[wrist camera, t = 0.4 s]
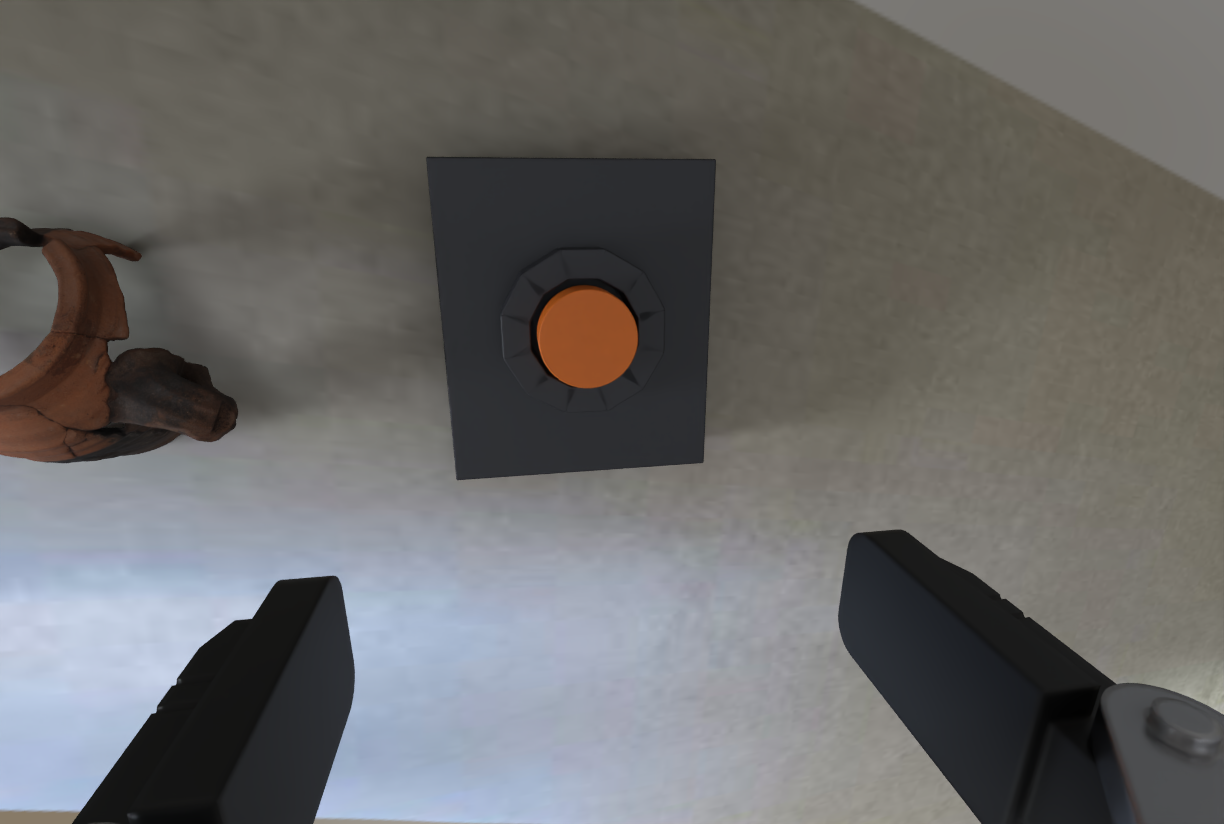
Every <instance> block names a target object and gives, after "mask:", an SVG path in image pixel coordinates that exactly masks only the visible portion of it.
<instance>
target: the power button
mask: <svg viewBox="0 0 1224 824" xmlns="http://www.w3.org/2000/svg"><path fill="white" fill-rule="evenodd" d="M537 341H538V345H539V350H540V354H541V357H542V359H543V361H544V363H545V365H546V367H547V368H548V369H549V371H550V372H551V373H552V374H553V375H554V376H555V377H557V378H558V379H559V380H561V381H562V382H564V383H566V384H568V385H571V386H574V387H578V388H597V387H601V386H604V385H607V384H609V383H611V382H613V381H614V380H616V379H617V378H619V377H620V376H621V375H622V374H623V373H624V372H625V371H626V370H627V369H628V367H629V366H630V364H631V363H632V361H633V359H634V356H635V353H636V350H637V345H638V330H637V325H636V322H635V319H634V317H633V315H632V313H631V312H630V310H629V309H628V307H627V306H626V305H625V304H624V303H623V302H622V301H621V300H620V299H618V298H617V297H616V296H614V295H613V294H611V293H610V292H608V291H606V290H604V289H602V288H599V287H596V286H591V285H577V286H572V287H569V288H566V289H564V290H562V291H560V292H559V293H557V294H556V295H554V296H553V297H552V298H551V299H550V300H549V301H548V303H547V304H546V305H545V307H544V308H543V310H542V312H541V314H540V317H539V320H538V325H537Z"/></svg>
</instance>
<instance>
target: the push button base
mask: <svg viewBox="0 0 1224 824" xmlns="http://www.w3.org/2000/svg"><path fill="white" fill-rule="evenodd" d="M426 161H427V171H428V182H429V193H430V203H431V214H432V225H433V235H434V246H435V256H436V267H437V278H438V288H439V299H440V309H441V320H442V331H443V341H444V352H445V363H446V373H447V384H448V394H449V405H450V416H451V426H452V437H453V447H454V458H455V469H456V479H457V480H466V479H480V478H494V477H509V476H523V475H537V474H551V473H566V472H580V471H594V470H608V469H623V468H637V467H651V466H665V465H680V464H694V463H703V461H704V437H705V413H706V389H707V364H708V340H709V316H710V291H711V267H712V243H713V219H714V194H715V170H716V160H715V159H616V158H493V157H427V158H426ZM577 285H591V286H596V287H599V288H602V289H604V290H606V291H608V292H610V293H611V294H613V295H614V296H616V297H617V298H618V299H620V300H621V301H622V302H623V303H624V304H625V305H626V306H627V307H628V309H629V310H630V312H631V313H632V315H633V317H634V319H635V322H636V325H637V330H638V345H637V350H636V353H635V356H634V359H633V361H632V363H631V364H630V366H629V367H628V369H627V370H626V371H625V372H624V373H623V374H622V375H621V376H620V377H619V378H617V379H616V380H614V381H613V382H611V383H609V384H607V385H604V386H601V387H597V388H578V387H574V386H571V385H568V384H566V383H564V382H562V381H561V380H559V379H558V378H557V377H555V376H554V375H553V374H552V373H551V372H550V371H549V369H548V368H547V367H546V365H545V363H544V361H543V359H542V357H541V354H540V350H539V345H538V341H537V325H538V320H539V317H540V314H541V312H542V310H543V308H544V307H545V305H546V304H547V303H548V301H549V300H550V299H551V298H552V297H553V296H554V295H556V294H557V293H559V292H560V291H562V290H564V289H566V288H569V287H572V286H577Z"/></svg>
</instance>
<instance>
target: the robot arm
mask: <svg viewBox="0 0 1224 824" xmlns="http://www.w3.org/2000/svg"><path fill="white" fill-rule="evenodd" d="M838 621H839V628H840V633H841V637H842V640H843V642H844V645H845V647H846V649H847V650H848V652H849V653H850V655H851V656H852V658H853V659H854V660H855V661H856V663H857V664H858V665H859V667H860V668H861V669H862V670H863V672H864V673H865V674H866V676H867V677H868V678H869V679H870V681H871V682H872V683H873V685H874V686H875V687H876V688H877V690H878V691H879V692H880V694H881V695H882V696H883V697H884V699H885V700H886V701H887V703H888V704H889V705H890V706H891V708H892V709H893V710H894V712H895V713H896V714H897V715H898V717H899V718H900V719H901V721H902V722H903V723H904V724H905V726H906V727H907V728H908V730H909V731H910V732H911V733H912V735H913V736H914V737H915V739H916V740H917V741H918V742H919V744H920V745H921V746H922V748H923V749H924V750H925V751H926V753H927V754H928V755H929V757H930V758H931V759H932V760H933V762H934V763H935V764H936V766H937V767H938V768H939V769H940V771H941V772H942V773H943V775H944V776H945V777H946V779H947V780H948V781H949V782H950V784H951V785H952V786H953V788H954V789H955V790H956V791H957V793H958V794H959V795H960V797H961V798H962V799H963V800H964V802H965V803H966V804H967V806H968V807H969V808H970V809H971V811H972V812H973V813H974V815H975V816H976V817H977V818H978V820H979V821H980V822H981V824H1224V715H1223V714H1221V713H1220V712H1218V711H1216V710H1214V709H1212V708H1211V707H1209V706H1207V705H1205V704H1203V703H1201V702H1198V701H1196V700H1194V699H1192V698H1190V697H1187V696H1184V695H1182V694H1179V693H1177V692H1173V691H1170V690H1167V689H1164V688H1160V687H1156V686H1151V685H1145V684H1139V683H1122V684H1116V683H1114V682H1113V681H1112V680H1110V679H1109V678H1108V677H1107V676H1105V675H1104V674H1103V673H1101V672H1100V671H1099V670H1097V669H1096V668H1095V667H1094V666H1092V665H1091V664H1090V663H1088V662H1087V661H1086V660H1084V659H1083V658H1082V657H1081V656H1079V655H1078V654H1077V653H1075V652H1074V651H1073V650H1071V649H1070V648H1069V647H1068V646H1066V645H1065V644H1064V643H1062V642H1061V641H1060V640H1058V639H1057V638H1056V637H1055V636H1053V635H1052V634H1051V633H1049V632H1048V631H1047V630H1045V629H1044V628H1043V627H1042V626H1040V625H1039V624H1038V623H1036V622H1035V621H1034V620H1032V619H1031V618H1030V617H1027V618H1025V617H1024V615H1023V612H1022V611H1021V610H1019V609H1018V608H1017V607H1016V606H1014V605H1013V604H1012V603H1010V602H1009V601H1008V600H1006V599H1001V597H1000V594H999V593H997V592H996V591H995V590H993V589H992V588H991V587H990V586H988V585H987V584H986V583H984V582H983V581H982V580H980V579H979V578H978V577H977V576H975V575H974V574H973V573H971V572H968V571H966V570H964V569H962V568H960V567H958V566H956V565H954V564H952V563H950V562H948V561H946V560H944V559H942V558H939V557H938V556H937V555H936V554H934V553H933V552H932V551H931V550H929V549H928V548H927V547H925V546H924V545H923V544H922V543H920V542H919V541H918V540H917V539H915V538H914V537H913V536H912V535H910V534H909V533H908V532H906V531H904V530H887V531H875V532H863V533H856V534H854V535H853V536H852V537H851V539H850V541H849V544H848V549H847V556H846V563H845V570H844V577H843V584H842V591H841V598H840V605H839V613H838ZM354 682H355V669H354V660H353V653H352V647H351V641H350V635H349V628H348V622H347V616H346V610H345V603H344V597H343V591H342V586H341V583H340V581H339V579H338V577H336V576H324V577H312V578H300V579H288V580H280V581H278V582H277V583H275V585H274V586H273V588H272V589H271V591H270V592H269V594H268V595H267V597H266V598H265V600H264V601H263V603H262V605H261V606H260V608H259V609H258V611H257V612H256V614H255V615H254V617H253V618H252V619H246V620H235V621H234V622H232V623H231V624H230V625H228V626H227V627H226V628H225V629H223V630H222V631H221V632H219V633H218V634H217V635H215V636H214V637H213V638H212V639H210V640H209V641H208V642H206V643H205V644H204V645H203V646H201V647H200V648H199V649H198V651H197V652H196V653H195V655H194V656H193V658H192V659H191V660H190V662H189V663H188V664H187V666H186V667H185V669H184V670H183V671H182V673H181V674H180V675H179V677H178V678H177V684H176V685H174V686H171V688H170V689H169V691H168V692H167V693H166V695H165V696H164V697H163V699H162V700H161V702H160V703H159V704H158V706H157V712H156V713H154V714H151V715H150V717H149V718H148V720H147V721H146V722H145V724H144V725H143V726H142V728H141V729H140V731H139V732H138V733H137V735H136V736H135V737H134V739H133V740H132V742H131V743H130V744H129V746H128V747H127V748H126V750H125V751H124V753H123V754H122V755H121V757H120V758H119V759H118V761H117V762H116V764H115V765H114V766H113V768H112V769H111V770H110V772H109V773H108V775H107V776H106V777H105V779H104V780H103V782H102V783H101V784H100V786H99V787H98V788H97V790H96V791H95V793H94V794H93V795H92V797H91V798H90V799H89V801H88V802H87V804H86V805H85V806H84V808H83V809H82V810H81V812H80V813H79V815H78V816H77V817H76V819H75V820H74V822H73V823H72V824H313V823H314V820H315V816H316V813H317V810H318V807H319V804H320V801H321V798H322V795H323V792H324V789H325V786H326V783H327V780H328V777H329V774H330V771H331V768H332V765H333V761H334V758H335V755H336V752H337V749H338V746H339V743H340V740H341V737H342V734H343V731H344V728H345V725H346V722H347V719H348V716H349V713H350V709H351V705H352V700H353V694H354Z"/></svg>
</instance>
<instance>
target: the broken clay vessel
mask: <svg viewBox="0 0 1224 824" xmlns="http://www.w3.org/2000/svg"><path fill="white" fill-rule="evenodd" d="M10 246H29V247H43V248H42V254H43V255H44V256H45V258H46V259H47V261H48V262H49V264H50V265H51V267H52V269H53V271H54V273H55V275H56V277H57V280H58V289H59V291H58V296H59V299H58V305H57V310H56V313H55V317H54V321H53V325H52V327H51V332H50V333H49V334H48V335H47V336H46V337H45V339H44V340H43V341H42V343H41V344H40V345H39V346H38V347H37V349H36V350H35V351H33V352H32V353H31V354H30V355H29V356H28V357H27V358H26V359H25V360H24V361H22V362H21V363H20V364H18V365H17V366H15V367H14V368H13V369H11V370H10V371H8V372H6V373H5V374H3V375H1V376H0V454H1V455H5V456H10V457H17V458H26V459H29V460H33V461H40V462H53V463H70V462H81V461H97V460H101V459H107V458H114V457H118V456H126V455H135V454H140V453H144V452H147V451H151V450H154V449H157V448H159V447H161V446H164V445H166V444H168V443H169V442H171V441H173V440H174V439H175V438H176V437H177V436H179V435H180V434H184V435H186V436H189V437H191V438H193V439H195V440H198V441H204V442H213V441H216V440H219V439H220V438H221V437H223V436H224V435H225V434H227V433H228V432H230V431H231V430H233V429H234V428H235V426H236V419H237V416H238V409H237V404H236V401H235V400H234V399H233V398H231V397H229V396H226V395H224V394H223V393H221V392H220V391H218V390H217V389H216V388H215V387H214V386H213V385H212V382H211V377H210V375H209V371H208V369H207V368H206V367H205V366H202V365H199V364H192V363H188V362H185V361H184V359H183V358H182V357H180V356H177V355H173V354H171V353H170V352H169V351H168V350H165V349H162V348H148V349H143V348H135V349H131V350H127V351H125V352H123V353H122V354H120V355H119V356H118V357H117V358H116V360H115V361H114V362H112V361H111V360H110V358H109V355H108V353H107V352H108V346H107V342H109V341H115V340H125V339H127V338H128V337H129V327H128V322H127V315H126V311H125V302H124V296H123V293H122V291H121V289H120V287H119V284H118V281H117V277H116V274H115V271H114V268H113V266H112V265H111V262H110V261H109V260H108V258H107V257H106V256H105V254H112V255H114V256H117V257H121V258H124V259H127V260H130V261H139V260H140V259H141V257H142V255H141V254H140V253H139V252H137V251H135V250H133V249H131V248H129V247H127V246H124V245H122V244H120V243H118V242H115V241H113V240H110V239H106V238H103V237H101V236H98V235H95V234H92V233H88V232H83V231H73V230H71V229H65V228H58V229H51V228H35V229H30V228H29V227H28V226H26V225H25V224H23V223H21V222H20V221H18V220H16V219H14V218H0V250H2V249H4V248H7V247H10ZM111 422H113V423H119V424H124V423H125V427H122V428H102V427H105V426H107V425H108V424H109V423H111Z"/></svg>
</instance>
